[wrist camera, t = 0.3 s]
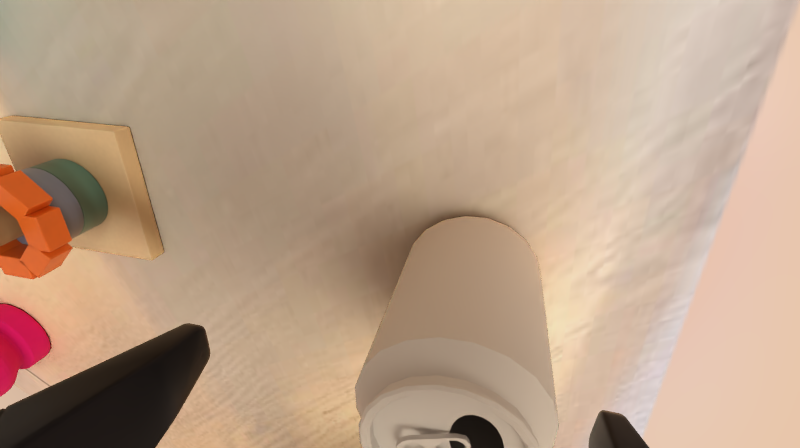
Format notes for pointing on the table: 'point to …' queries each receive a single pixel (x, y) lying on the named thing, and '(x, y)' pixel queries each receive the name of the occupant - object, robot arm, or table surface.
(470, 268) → the can
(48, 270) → the orange ring
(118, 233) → the stacking tower
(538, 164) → the table surface
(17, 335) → the pepper mill
